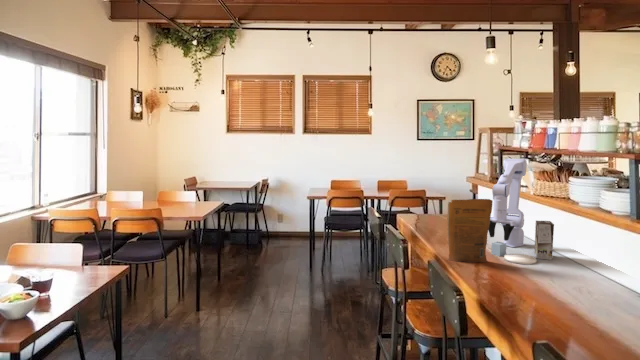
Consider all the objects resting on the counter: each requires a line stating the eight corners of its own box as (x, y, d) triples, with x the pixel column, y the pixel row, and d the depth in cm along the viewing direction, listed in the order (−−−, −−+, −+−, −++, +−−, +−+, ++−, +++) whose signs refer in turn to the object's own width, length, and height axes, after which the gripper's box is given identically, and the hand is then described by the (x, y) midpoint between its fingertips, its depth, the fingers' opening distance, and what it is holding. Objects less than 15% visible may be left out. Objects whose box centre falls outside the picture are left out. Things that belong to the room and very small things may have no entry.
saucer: (515, 254, 196) (516, 252, 196) (542, 261, 185) (542, 258, 185) (497, 258, 189) (498, 256, 189) (524, 266, 178) (524, 263, 178)
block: (497, 252, 200) (497, 241, 199) (505, 255, 196) (506, 243, 195) (491, 254, 197) (491, 242, 197) (499, 256, 194) (500, 244, 193)
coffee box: (552, 260, 187) (554, 224, 186) (536, 258, 189) (538, 223, 188) (549, 254, 196) (550, 220, 194) (533, 253, 198) (535, 219, 196)
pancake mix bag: (492, 264, 181) (494, 199, 179) (446, 262, 184) (448, 199, 182) (488, 259, 188) (490, 197, 185) (444, 258, 191) (446, 197, 188)
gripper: (481, 208, 199) (480, 236, 200) (508, 212, 186) (507, 242, 188) (491, 207, 202) (490, 234, 204) (518, 211, 190) (517, 240, 191)
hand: (499, 238), depth 196 cm, fingers open, 7 cm apart
